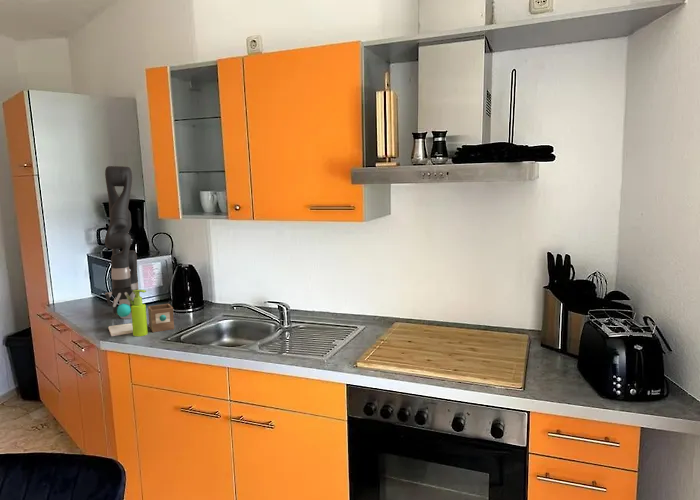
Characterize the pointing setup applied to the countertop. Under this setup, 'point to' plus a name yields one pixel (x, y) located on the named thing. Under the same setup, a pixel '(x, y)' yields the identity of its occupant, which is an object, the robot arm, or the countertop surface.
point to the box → (161, 317)
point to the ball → (123, 310)
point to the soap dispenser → (139, 315)
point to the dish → (120, 329)
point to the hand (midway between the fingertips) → (123, 313)
